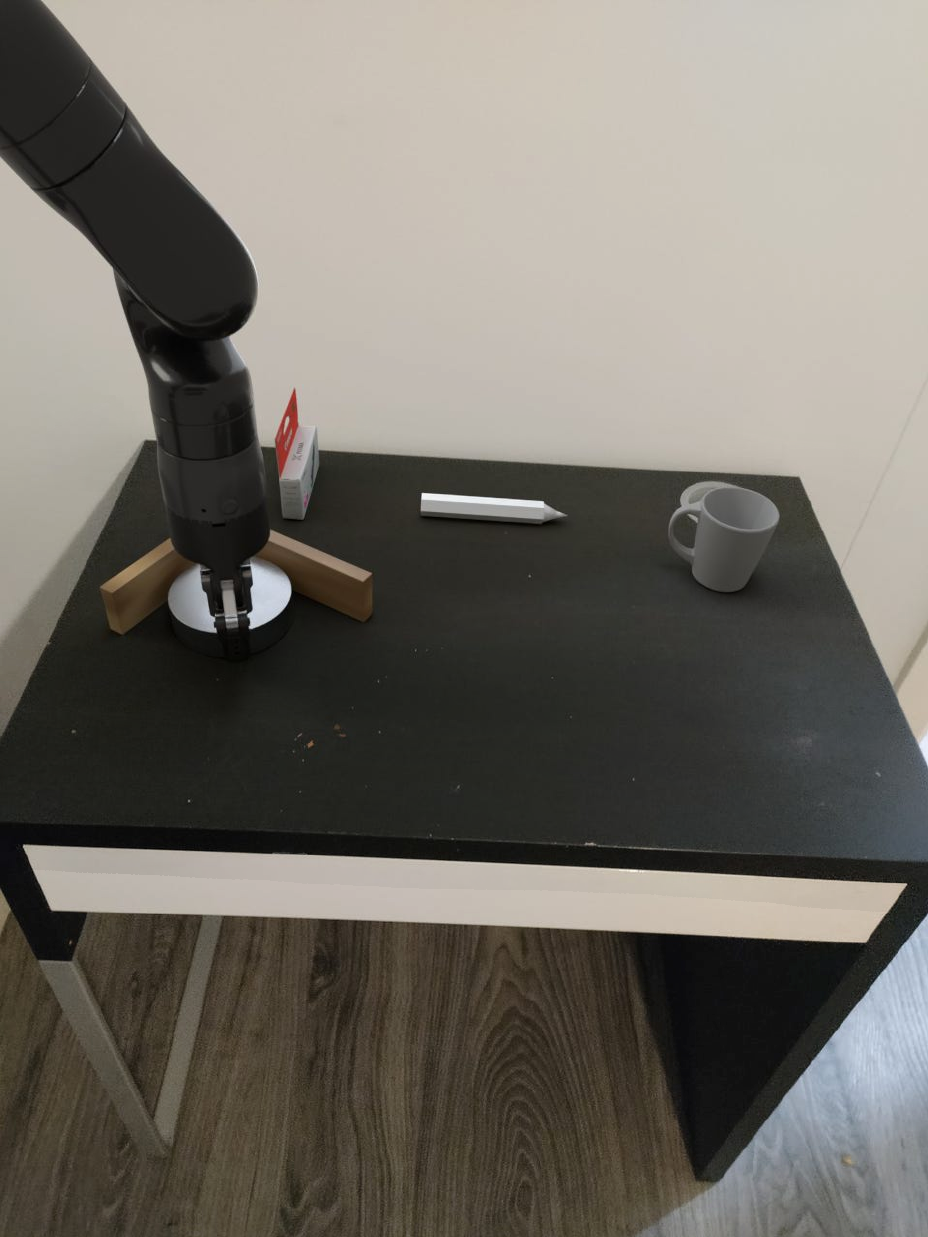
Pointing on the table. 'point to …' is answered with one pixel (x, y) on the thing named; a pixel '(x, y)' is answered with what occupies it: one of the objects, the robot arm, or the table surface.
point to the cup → (727, 536)
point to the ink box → (296, 462)
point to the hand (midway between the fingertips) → (237, 656)
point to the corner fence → (303, 565)
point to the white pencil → (487, 508)
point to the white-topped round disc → (265, 619)
